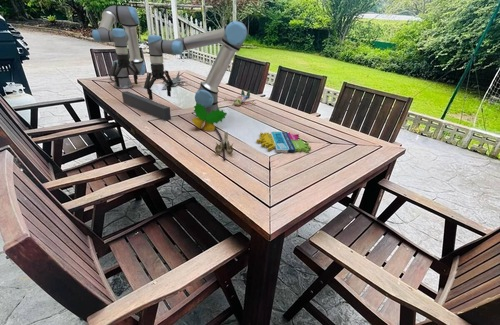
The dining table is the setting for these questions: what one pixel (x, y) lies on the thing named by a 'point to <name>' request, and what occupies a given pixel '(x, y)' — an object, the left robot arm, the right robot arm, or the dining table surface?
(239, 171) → the dining table surface
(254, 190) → the dining table surface
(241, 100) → the toy
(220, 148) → the jawbone
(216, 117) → the ornament
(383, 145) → the dining table surface
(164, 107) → the bar
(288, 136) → the sign
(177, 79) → the airplane
